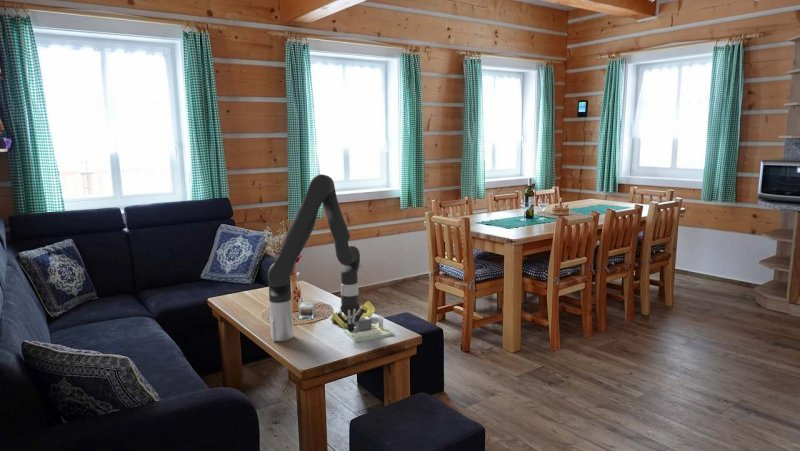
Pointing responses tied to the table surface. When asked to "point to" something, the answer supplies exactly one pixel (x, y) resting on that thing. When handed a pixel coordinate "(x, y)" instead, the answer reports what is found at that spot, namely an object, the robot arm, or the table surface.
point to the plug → (363, 324)
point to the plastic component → (368, 312)
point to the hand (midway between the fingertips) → (350, 331)
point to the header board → (370, 332)
